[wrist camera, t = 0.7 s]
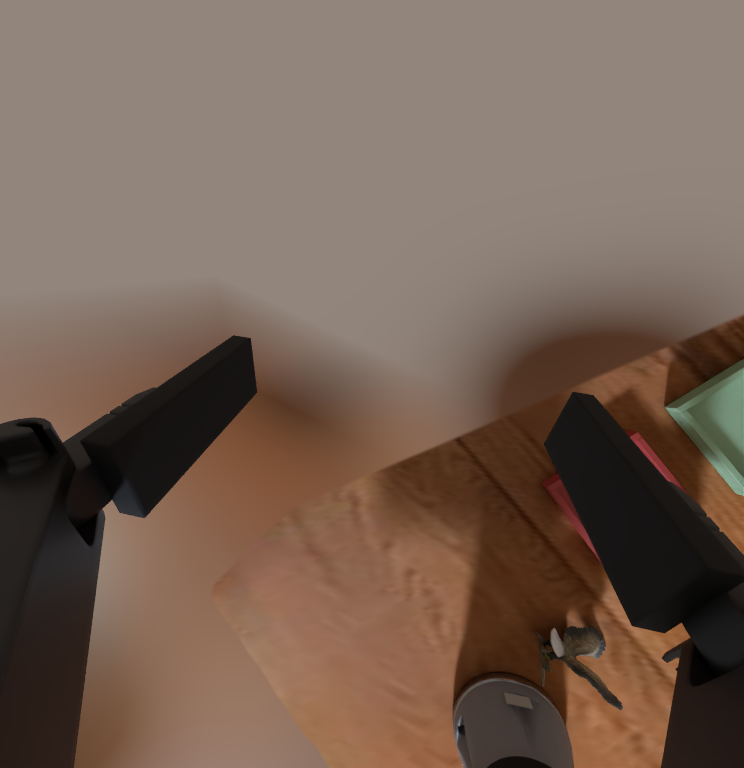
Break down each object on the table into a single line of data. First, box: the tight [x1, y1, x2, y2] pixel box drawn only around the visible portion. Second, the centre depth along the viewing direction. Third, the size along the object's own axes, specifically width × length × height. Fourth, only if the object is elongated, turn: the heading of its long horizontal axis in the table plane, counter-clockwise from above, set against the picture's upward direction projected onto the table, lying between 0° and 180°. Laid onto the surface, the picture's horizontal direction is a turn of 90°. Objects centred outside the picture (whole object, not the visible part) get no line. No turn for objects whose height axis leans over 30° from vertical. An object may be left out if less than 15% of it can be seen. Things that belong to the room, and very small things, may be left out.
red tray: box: [541, 430, 689, 564], centre depth 40 cm, size 14×14×2 cm
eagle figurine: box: [536, 626, 623, 710], centre depth 39 cm, size 8×7×9 cm
